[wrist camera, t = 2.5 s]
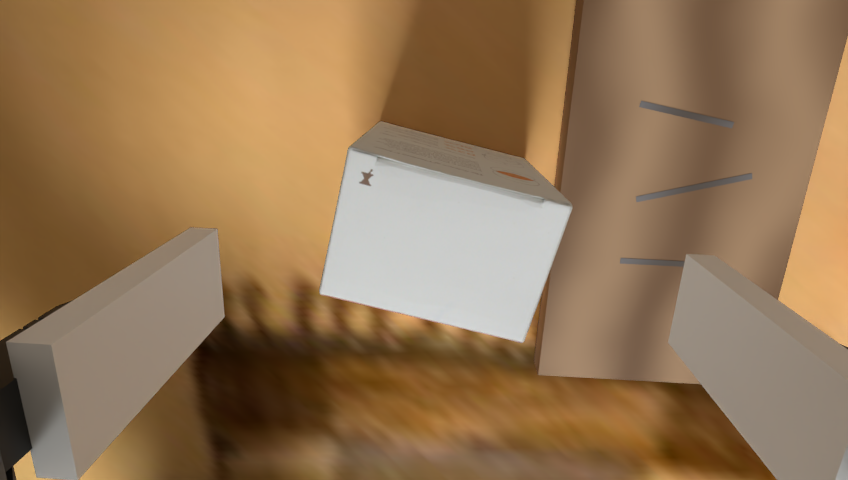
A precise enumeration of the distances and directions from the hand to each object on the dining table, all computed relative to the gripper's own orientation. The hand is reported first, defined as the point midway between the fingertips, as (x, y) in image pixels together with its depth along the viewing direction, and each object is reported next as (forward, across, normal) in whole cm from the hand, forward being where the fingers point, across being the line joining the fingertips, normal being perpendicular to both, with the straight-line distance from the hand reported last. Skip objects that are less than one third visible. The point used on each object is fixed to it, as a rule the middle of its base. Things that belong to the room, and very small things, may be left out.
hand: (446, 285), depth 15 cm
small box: (+14, 0, 0) cm, 14 cm away
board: (+14, +12, 0) cm, 18 cm away
